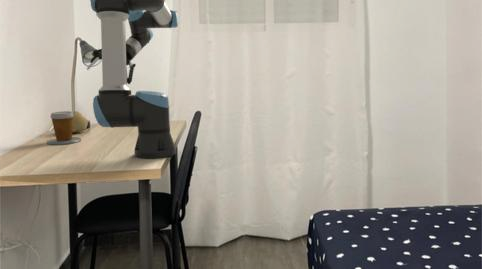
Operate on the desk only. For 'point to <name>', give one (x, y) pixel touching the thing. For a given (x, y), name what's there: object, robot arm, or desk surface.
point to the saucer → (55, 142)
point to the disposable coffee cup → (62, 125)
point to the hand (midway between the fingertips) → (101, 78)
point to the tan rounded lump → (79, 122)
